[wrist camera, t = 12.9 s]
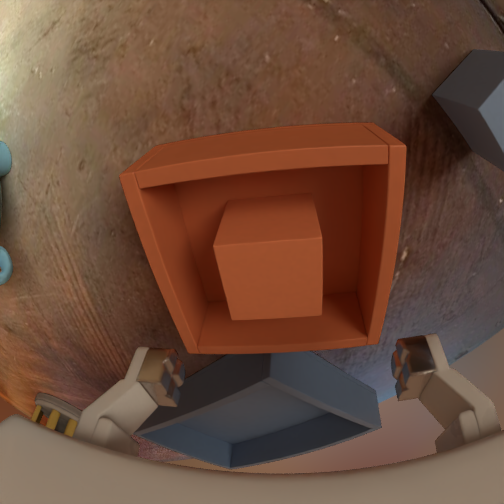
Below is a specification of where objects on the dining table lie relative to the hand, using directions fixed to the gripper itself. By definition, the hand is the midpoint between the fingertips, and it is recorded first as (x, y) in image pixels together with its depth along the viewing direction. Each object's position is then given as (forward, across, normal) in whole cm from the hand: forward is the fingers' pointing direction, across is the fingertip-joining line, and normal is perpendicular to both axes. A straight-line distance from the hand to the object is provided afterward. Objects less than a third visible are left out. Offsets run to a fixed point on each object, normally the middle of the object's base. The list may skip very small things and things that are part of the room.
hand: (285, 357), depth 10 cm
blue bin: (+9, +6, +22) cm, 24 cm away
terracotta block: (+8, +1, 0) cm, 8 cm away
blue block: (+9, -12, -8) cm, 17 cm away
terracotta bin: (+9, +1, 0) cm, 9 cm away
